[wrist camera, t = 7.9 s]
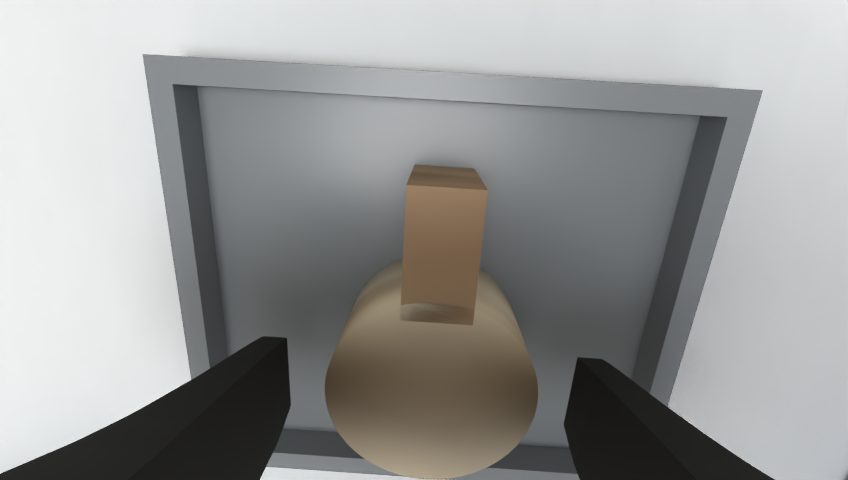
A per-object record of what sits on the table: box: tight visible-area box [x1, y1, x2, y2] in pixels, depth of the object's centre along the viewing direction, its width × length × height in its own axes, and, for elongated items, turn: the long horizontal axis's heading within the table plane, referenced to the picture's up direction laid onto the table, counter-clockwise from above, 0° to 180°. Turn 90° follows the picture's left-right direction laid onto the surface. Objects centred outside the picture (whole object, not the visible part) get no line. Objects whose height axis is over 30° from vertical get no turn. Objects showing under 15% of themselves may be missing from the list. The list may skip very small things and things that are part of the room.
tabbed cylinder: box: [325, 165, 538, 479], centre depth 10 cm, size 8×5×3 cm, turn 177°
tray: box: [143, 54, 762, 480], centre depth 12 cm, size 14×12×2 cm
